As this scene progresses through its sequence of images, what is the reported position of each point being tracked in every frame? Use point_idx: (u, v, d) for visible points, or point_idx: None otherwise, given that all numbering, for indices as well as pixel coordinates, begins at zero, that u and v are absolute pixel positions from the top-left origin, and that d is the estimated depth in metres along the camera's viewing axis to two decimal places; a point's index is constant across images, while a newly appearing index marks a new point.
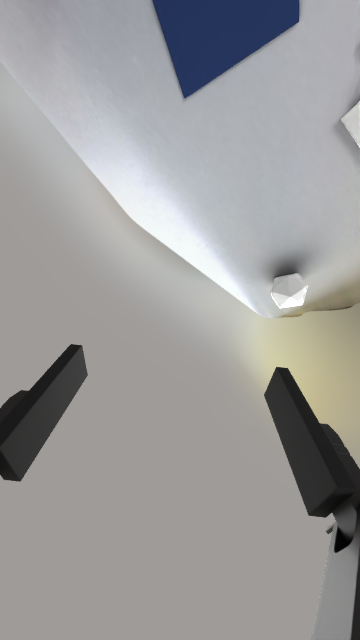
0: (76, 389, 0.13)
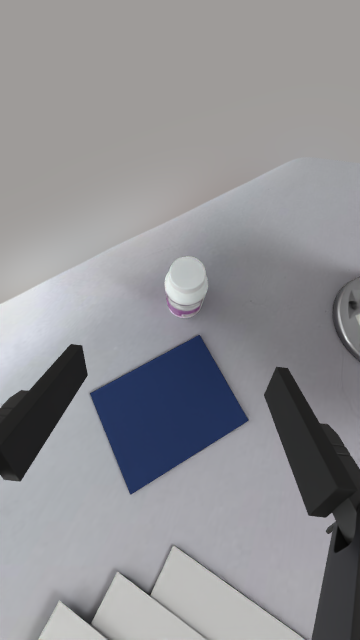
0: (76, 389, 0.13)
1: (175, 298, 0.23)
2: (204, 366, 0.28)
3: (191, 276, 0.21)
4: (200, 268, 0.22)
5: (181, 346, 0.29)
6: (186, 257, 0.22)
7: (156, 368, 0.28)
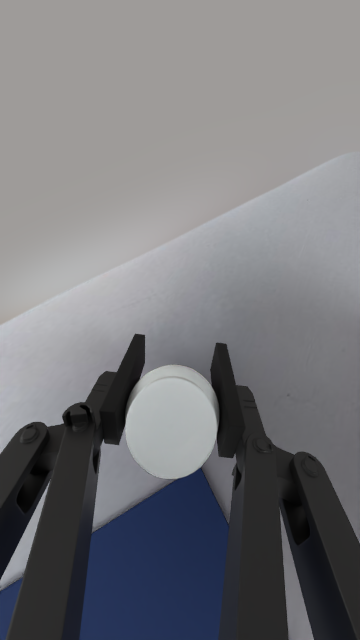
0: (140, 373, 0.15)
1: None
2: (208, 536, 0.15)
3: (181, 440, 0.08)
4: (204, 415, 0.09)
5: (166, 492, 0.16)
6: (169, 382, 0.09)
7: (117, 540, 0.15)
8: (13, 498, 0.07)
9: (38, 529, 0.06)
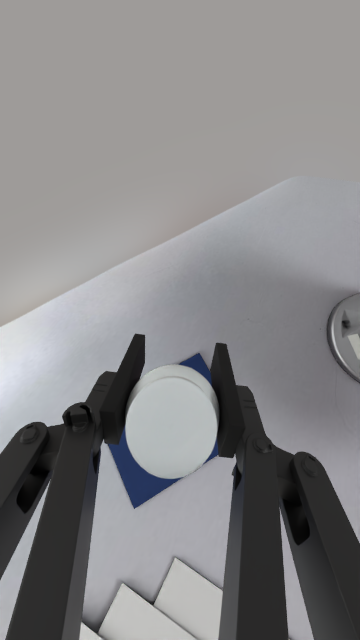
0: (140, 373, 0.15)
1: None
2: None
3: (181, 439, 0.08)
4: (204, 414, 0.09)
5: (181, 364, 0.30)
6: (169, 382, 0.09)
7: None
8: (13, 498, 0.07)
9: (38, 529, 0.06)
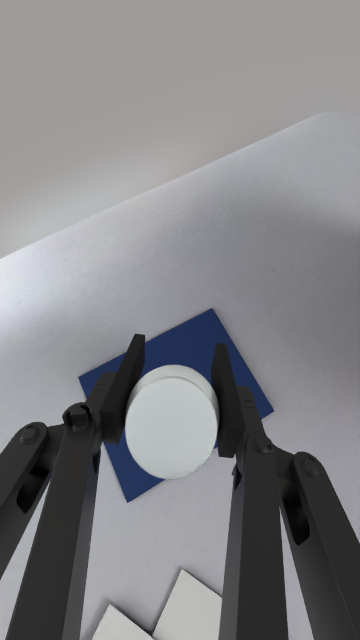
0: (140, 373, 0.15)
1: None
2: None
3: (181, 440, 0.08)
4: (204, 415, 0.09)
5: (190, 321, 0.24)
6: (169, 382, 0.09)
7: (159, 347, 0.23)
8: (13, 497, 0.07)
9: (38, 529, 0.06)
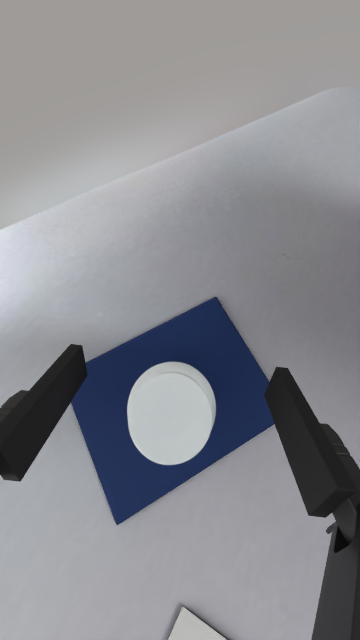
0: (76, 389, 0.13)
1: None
2: (224, 338, 0.20)
3: (179, 429, 0.09)
4: (200, 406, 0.09)
5: (191, 311, 0.21)
6: (168, 377, 0.10)
7: (156, 340, 0.20)
8: None
9: None
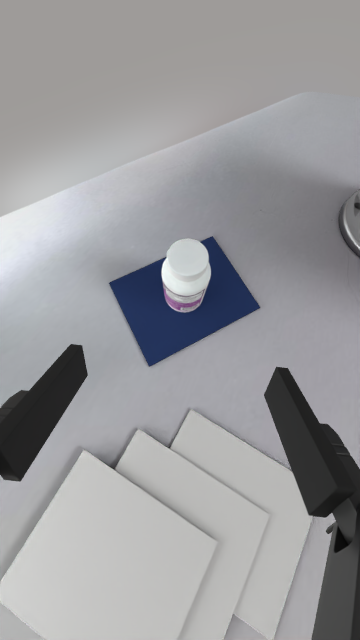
0: (76, 389, 0.13)
1: (174, 288, 0.20)
2: (217, 262, 0.30)
3: (192, 261, 0.19)
4: (202, 252, 0.19)
5: None
6: (186, 239, 0.19)
7: None
8: None
9: None
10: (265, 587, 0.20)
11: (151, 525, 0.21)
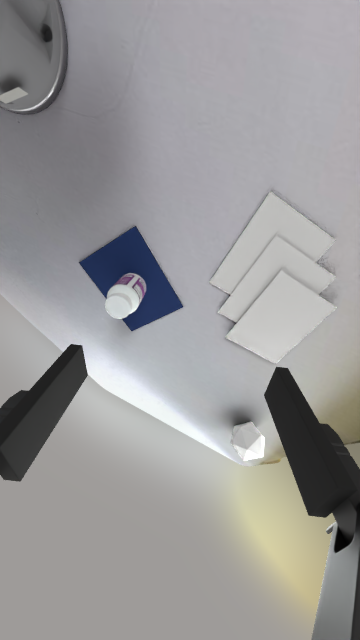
0: (76, 389, 0.13)
1: (135, 308, 0.33)
2: (101, 259, 0.37)
3: (120, 305, 0.31)
4: (113, 299, 0.30)
5: (90, 276, 0.39)
6: (106, 308, 0.31)
7: None
8: None
9: None
10: (310, 241, 0.34)
11: (265, 305, 0.39)
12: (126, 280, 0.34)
